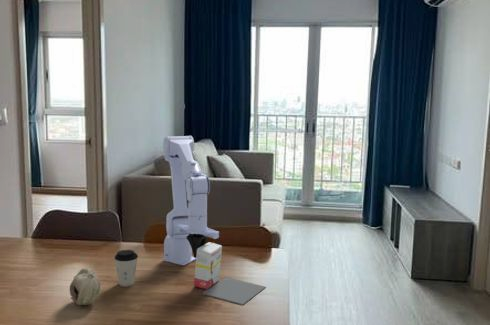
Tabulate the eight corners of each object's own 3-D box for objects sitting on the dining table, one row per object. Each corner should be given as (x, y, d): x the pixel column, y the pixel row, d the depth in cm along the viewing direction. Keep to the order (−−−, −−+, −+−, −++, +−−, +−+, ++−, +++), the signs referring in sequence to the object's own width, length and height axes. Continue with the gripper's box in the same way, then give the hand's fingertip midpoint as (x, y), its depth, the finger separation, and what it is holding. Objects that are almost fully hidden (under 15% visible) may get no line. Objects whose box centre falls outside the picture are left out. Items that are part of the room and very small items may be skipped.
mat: (201, 293, 135) (201, 292, 135) (226, 278, 147) (226, 277, 147) (242, 305, 128) (243, 304, 128) (265, 287, 140) (265, 286, 140)
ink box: (207, 290, 138) (210, 253, 136) (193, 286, 140) (195, 249, 138) (220, 280, 146) (222, 244, 144) (206, 276, 148) (209, 241, 146)
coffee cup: (142, 280, 144) (142, 250, 142) (130, 289, 137) (129, 257, 136) (123, 277, 146) (122, 247, 145) (110, 286, 140) (109, 254, 138)
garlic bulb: (78, 295, 133) (77, 262, 132) (107, 296, 132) (106, 263, 131) (62, 310, 124) (61, 274, 122) (93, 312, 123) (92, 276, 121)
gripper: (170, 214, 141) (171, 256, 143) (209, 221, 134) (209, 265, 136) (184, 209, 148) (184, 250, 149) (222, 215, 140) (222, 258, 142)
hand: (197, 257), depth 143 cm, fingers closed
